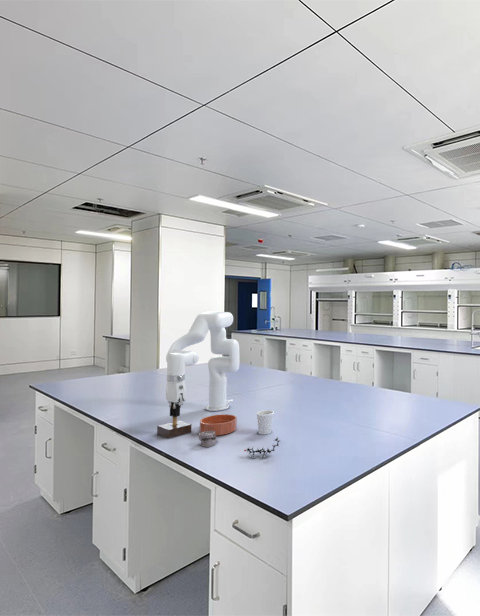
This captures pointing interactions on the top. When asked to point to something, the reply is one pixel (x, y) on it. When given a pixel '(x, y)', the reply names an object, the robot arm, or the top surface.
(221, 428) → the mixing bowl
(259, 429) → the dixie cup
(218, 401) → the robot arm
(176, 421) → the light wooden dowel
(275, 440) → the molecular model
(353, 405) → the top surface
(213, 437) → the dental mold
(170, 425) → the holder
